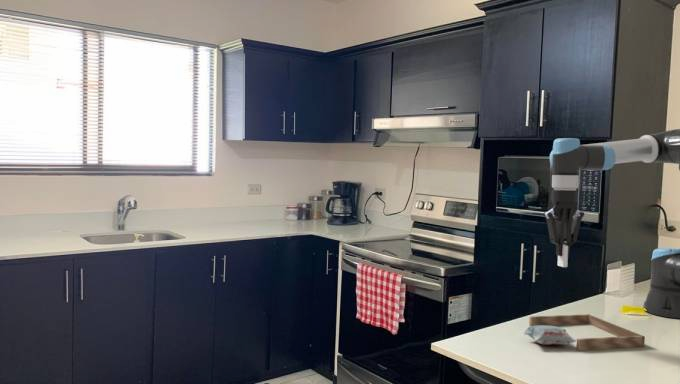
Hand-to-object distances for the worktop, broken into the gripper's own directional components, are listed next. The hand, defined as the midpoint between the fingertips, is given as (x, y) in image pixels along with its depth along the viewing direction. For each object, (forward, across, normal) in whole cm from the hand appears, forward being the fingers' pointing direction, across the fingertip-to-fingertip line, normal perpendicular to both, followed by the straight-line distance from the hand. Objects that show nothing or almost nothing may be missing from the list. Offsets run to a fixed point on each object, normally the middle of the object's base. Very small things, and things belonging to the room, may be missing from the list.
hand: (562, 266), depth 168 cm
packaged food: (+22, +14, +10) cm, 28 cm away
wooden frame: (+21, -6, +3) cm, 22 cm away
